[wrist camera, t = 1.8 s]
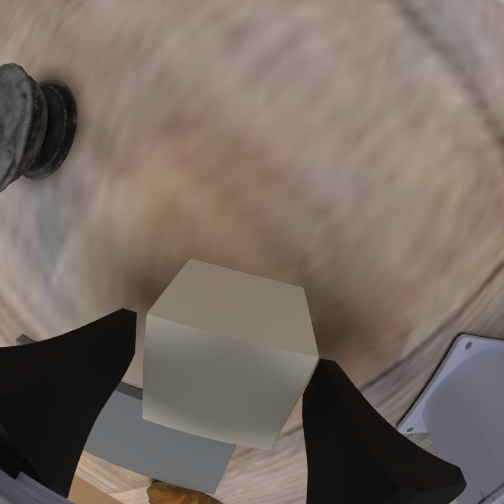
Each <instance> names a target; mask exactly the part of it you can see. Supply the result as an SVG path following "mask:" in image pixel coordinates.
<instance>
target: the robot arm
mask: <svg viewBox="0 0 504 504" xmlns="http://www.w3.org/2000/svg"><path fill="white" fill-rule="evenodd" d="M136 320H137V313H136V312H133V311H130V310H127V309H124V308H122V309H120V310H117V311H115V312H113V313H111V314H109V315H107V316H105V317H102V318H100V319H98V320H96V321H94V322H92V323H89V324H87V325H85V326H83V327H80V328H78V329H75V330H73V331H70V332H68V333H65V334H62V335H60V336H57V337H53V338H50V339H46V340H43V341H39V342H34V343H29V344H23V345H18V346H10V347H0V504H75V503H73V502H71V501H69V500H67V498H68V495H69V491H70V487H71V484H72V480H73V477H74V474H75V471H76V468H77V465H78V462H79V459H80V456H81V454H82V451H83V449H84V446H85V444H86V441H87V439H88V437H89V434H90V432H91V430H92V428H93V426H94V423H95V421H96V419H97V417H98V416H99V414H100V412H101V410H102V409H103V407H104V406H105V404H106V403H107V401H108V400H109V398H110V396H111V395H112V393H113V392H114V390H115V389H116V387H117V386H118V384H119V383H120V381H121V380H122V378H123V376H124V375H125V373H126V371H127V369H128V367H129V365H130V363H131V361H132V359H133V357H134V354H135V341H136ZM467 343H468V344H467ZM302 419H303V428H304V437H305V446H306V454H307V466H308V481H307V500H306V504H449V503H450V502H452V501H453V500H454V499H456V502H457V504H504V341H503V340H496V339H490V338H484V337H478V336H472V335H466V334H462V335H460V336H459V337H458V338H457V339H456V340H455V342H454V344H453V346H452V347H451V349H450V351H449V352H448V354H447V356H446V358H445V359H444V361H443V362H442V364H441V366H440V367H439V369H438V371H437V372H436V374H435V375H434V377H433V378H432V380H431V381H430V383H429V384H428V386H427V387H426V389H425V390H424V392H423V393H422V394H421V396H420V397H419V399H418V400H417V401H416V403H415V404H414V405H413V407H412V408H411V409H410V411H409V412H408V413H407V415H406V416H405V417H404V419H403V420H402V421H401V422H400V424H399V425H398V426H397V428H396V429H395V428H394V427H393V426H392V425H390V424H389V423H388V422H387V421H386V420H385V419H384V418H383V417H382V416H381V415H380V414H379V413H378V412H377V411H376V410H375V409H374V408H373V407H372V406H371V405H370V403H369V402H368V401H367V400H366V399H365V398H364V396H363V395H362V394H361V393H360V392H359V390H358V389H357V388H356V387H355V385H354V384H353V383H352V382H351V380H350V379H349V378H348V376H347V375H346V374H345V373H344V371H343V370H342V369H341V368H340V366H339V365H338V364H337V363H336V362H335V361H332V360H326V359H320V361H319V363H318V365H317V367H316V369H315V371H314V373H313V375H312V377H311V379H310V381H309V383H308V385H307V387H306V389H305V391H304V393H303V402H302ZM413 433H429V435H430V437H431V440H432V442H433V444H434V446H435V449H436V451H437V453H438V456H439V458H438V457H436V456H434V455H432V454H431V453H429V452H427V451H425V450H424V449H422V448H421V447H419V446H417V445H416V444H414V443H413V442H412V441H410V440H409V439H408V438H406V437H405V436H403V435H402V434H413Z"/></svg>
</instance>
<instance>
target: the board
mask: <svg viewBox="0 0 504 504" xmlns="http://www.w3.org/2000/svg"><path fill="white" fill-rule="evenodd" d="M16 343H17V346H18V345H23V344H29V343H34V341H33V340H31V339H29V338H27V337H26V336H24V335H21V336H20V337H19V338H17V339H16ZM235 446H236V444H231V443H227V442H222V441H217V440H213V439H209V438H205V437H201V436H197V435H193V434H190V433H186V432H182V431H179V430H176V429H172V428H169V427H166V426H163V425H160V424H157V423H154V422H151V421H148V420H145V419H143V390H140V389H138V388H135V387H132V386H130V385H127V384H124V383H122V382H120V383H119V384H118V386H117V387H116V389H115V390H114V392H113V393H112V395H111V396H110V398H109V400H108V401H107V403H106V404H105V406H104V407H103V409H102V410H101V412H100V414H99V416H98V417H97V419H96V421H95V423H94V426H93V428H92V430H91V432H90V434H89V437H88V439H87V441H86V444H85V446H84V449H83V450H84V451H86V452H88V453H90V454H92V455H95V456H97V457H99V458H101V459H103V460H106V461H108V462H110V463H113V464H115V465H118V466H120V467H123V468H125V469H128V470H130V471H133V472H136V473H139V474H141V475H144V476H147V477H150V478H153V479H156V480H160V481H163V482H166V483H169V484H173V485H176V486H180V487H184V488H188V489H192V490H196V491H200V492H205V493H209V494H214V493H215V491H216V489H217V487H218V485H219V482H220V480H221V478H222V476H223V474H224V471H225V469H226V467H227V465H228V462H229V460H230V458H231V455H232V453H233V451H234V449H235Z"/></svg>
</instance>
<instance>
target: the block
mask: <svg viewBox="0 0 504 504" xmlns="http://www.w3.org/2000/svg"><path fill="white" fill-rule="evenodd" d="M318 358H319V355H318V350H317V346H316V341H315V336H314V332H313V327H312V323H311V318H310V314H309V309H308V305H307V301H306V296H305V292H304V288H303V287H300V286H296V285H292V284H288V283H284V282H280V281H276V280H272V279H268V278H264V277H260V276H256V275H252V274H248V273H244V272H241V271H237V270H233V269H229V268H225V267H221V266H217V265H214V264H210V263H206V262H202V261H199V260H195V259H191V258H190V259H189V260H188V261H187V263H186V264H185V265H184V266H183V268H182V269H181V270H180V271H179V273H178V274H177V275H176V277H175V278H174V279H173V280H172V282H171V283H170V284H169V285H168V287H167V288H166V289H165V291H164V292H163V293H162V294H161V296H160V297H159V298H158V300H157V301H156V302H155V303H154V305H153V306H152V307H151V309H150V310H149V311H148V313H147V315H146V328H145V343H144V362H143V419H145V420H148V421H151V422H154V423H157V424H160V425H163V426H166V427H169V428H172V429H176V430H179V431H182V432H186V433H190V434H193V435H197V436H201V437H205V438H209V439H213V440H217V441H222V442H227V443H231V444H236V445H241V446H247V447H252V448H258V449H265V450H270V449H271V447H272V446H273V444H274V442H275V441H276V439H277V437H278V435H279V434H280V432H281V430H282V428H283V427H284V425H285V423H286V421H287V419H288V417H289V416H290V414H291V412H292V410H293V408H294V406H295V404H296V402H297V401H298V399H299V397H300V395H301V393H302V391H303V389H304V387H305V385H306V383H307V381H308V379H309V377H310V375H311V373H312V371H313V369H314V367H315V364H316V362H317V360H318Z"/></svg>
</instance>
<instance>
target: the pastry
mask: <svg viewBox="0 0 504 504" xmlns="http://www.w3.org/2000/svg"><path fill="white" fill-rule="evenodd" d="M147 494H148V496H149V503H150V504H220V503H219V502H217V501H216V500H213V499H212V498H210V497H209V496H207V495H205V494H203V493H202V492H200V491H196V490H192V489H188V488H184V487H180V486H176V485H173V484H169V483H166V482H154V483H153V484H152V485H151V486H150V487H149V488H148V489H147Z"/></svg>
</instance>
